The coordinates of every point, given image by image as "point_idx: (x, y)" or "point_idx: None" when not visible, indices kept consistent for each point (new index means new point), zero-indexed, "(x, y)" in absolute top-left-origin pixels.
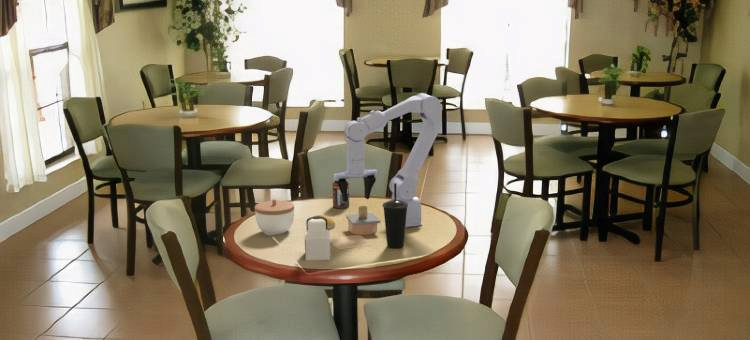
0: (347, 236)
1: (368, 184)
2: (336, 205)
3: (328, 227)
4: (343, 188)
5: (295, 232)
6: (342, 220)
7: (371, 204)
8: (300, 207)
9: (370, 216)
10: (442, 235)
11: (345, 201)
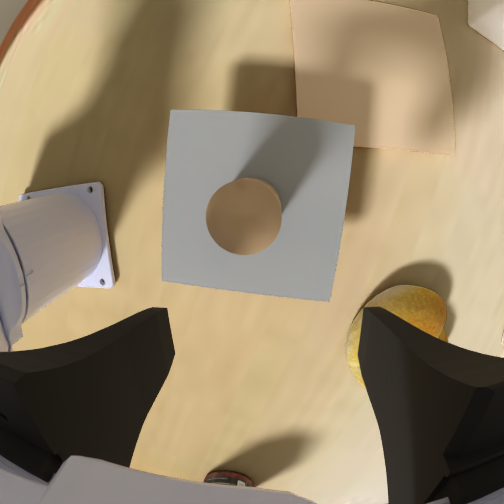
0: (365, 141)
1: (85, 373)
2: (248, 483)
3: (404, 288)
4: (475, 353)
5: (493, 309)
6: (282, 386)
7: (138, 458)
8: (340, 498)
9: (196, 215)
10: (16, 73)
11: (380, 307)
